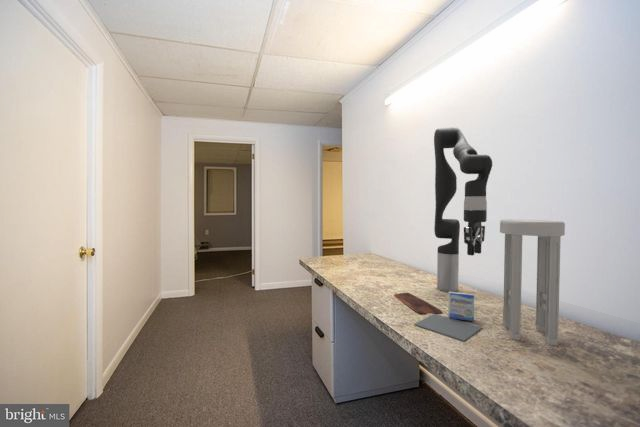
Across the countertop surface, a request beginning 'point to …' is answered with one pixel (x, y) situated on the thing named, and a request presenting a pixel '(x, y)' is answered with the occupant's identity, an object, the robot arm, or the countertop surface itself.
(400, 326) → the countertop surface
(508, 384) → the countertop surface
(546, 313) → the stool
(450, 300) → the medicine box
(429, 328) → the mat
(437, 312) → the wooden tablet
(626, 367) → the countertop surface
